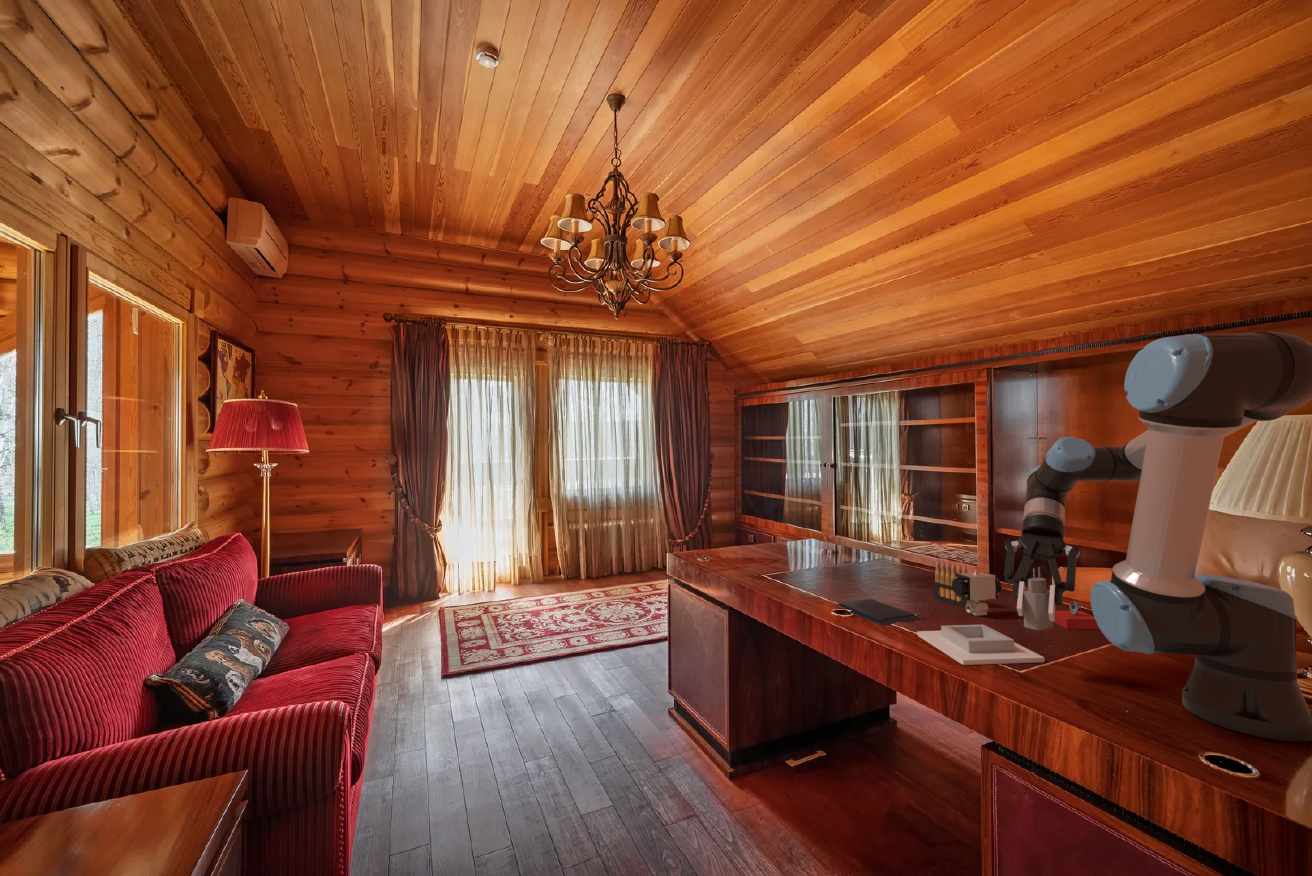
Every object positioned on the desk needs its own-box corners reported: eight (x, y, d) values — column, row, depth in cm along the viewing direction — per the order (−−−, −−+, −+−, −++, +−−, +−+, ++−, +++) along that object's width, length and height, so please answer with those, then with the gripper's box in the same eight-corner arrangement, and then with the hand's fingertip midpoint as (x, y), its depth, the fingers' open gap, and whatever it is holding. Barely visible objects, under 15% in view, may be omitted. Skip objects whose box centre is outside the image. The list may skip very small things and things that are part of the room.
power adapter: (1054, 626, 109) (1052, 567, 110) (1038, 630, 107) (1036, 570, 107) (1038, 622, 112) (1036, 564, 113) (1022, 626, 110) (1020, 567, 110)
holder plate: (1044, 662, 114) (1044, 645, 114) (963, 665, 113) (962, 648, 113) (988, 633, 132) (987, 619, 132) (917, 635, 131) (917, 621, 131)
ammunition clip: (933, 598, 163) (933, 558, 163) (938, 597, 164) (937, 558, 164) (966, 607, 153) (965, 565, 154) (971, 606, 154) (970, 565, 154)
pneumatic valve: (1002, 615, 146) (1001, 571, 146) (963, 618, 144) (962, 573, 144) (987, 609, 151) (986, 567, 151) (949, 612, 150) (948, 568, 150)
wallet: (831, 601, 157) (873, 595, 162) (831, 607, 157) (874, 602, 162) (880, 621, 138) (926, 615, 143) (880, 628, 138) (926, 622, 143)
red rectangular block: (1082, 621, 141) (1081, 597, 141) (1101, 630, 134) (1100, 605, 134) (1049, 621, 142) (1049, 597, 142) (1067, 630, 135) (1066, 604, 135)
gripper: (1094, 537, 116) (1093, 634, 103) (999, 530, 127) (987, 616, 115) (1092, 515, 112) (1090, 612, 99) (994, 510, 124) (981, 596, 111)
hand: (1035, 614), depth 107 cm, fingers closed on power adapter, 4 cm apart
